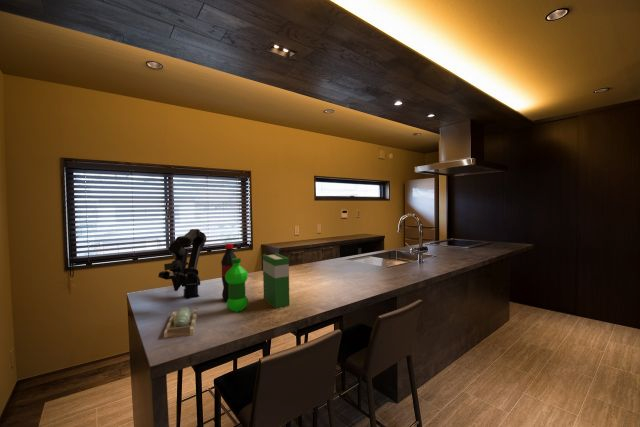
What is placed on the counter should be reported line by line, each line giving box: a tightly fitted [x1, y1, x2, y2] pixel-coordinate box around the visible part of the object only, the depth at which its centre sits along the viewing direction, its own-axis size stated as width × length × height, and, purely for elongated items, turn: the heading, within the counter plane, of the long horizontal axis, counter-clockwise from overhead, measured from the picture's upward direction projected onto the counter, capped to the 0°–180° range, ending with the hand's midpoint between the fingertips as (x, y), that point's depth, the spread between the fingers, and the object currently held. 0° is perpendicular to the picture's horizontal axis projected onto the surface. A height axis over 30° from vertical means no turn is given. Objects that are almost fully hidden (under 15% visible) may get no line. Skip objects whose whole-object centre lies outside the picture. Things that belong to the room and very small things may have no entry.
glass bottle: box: [174, 306, 192, 327], centre depth 123 cm, size 6×6×14 cm
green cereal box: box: [262, 252, 290, 309], centre depth 152 cm, size 18×7×24 cm, turn 30°
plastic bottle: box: [225, 257, 249, 313], centre depth 141 cm, size 10×10×25 cm
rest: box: [163, 308, 199, 339], centre depth 125 cm, size 24×10×4 cm, turn 19°
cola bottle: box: [220, 243, 238, 302], centre depth 156 cm, size 8×8×30 cm
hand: (175, 291), depth 141 cm, fingers closed
